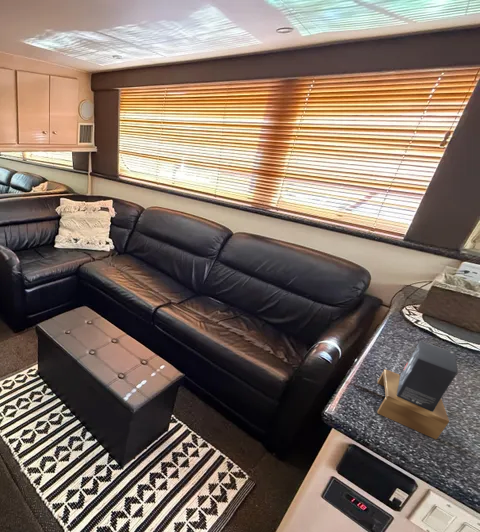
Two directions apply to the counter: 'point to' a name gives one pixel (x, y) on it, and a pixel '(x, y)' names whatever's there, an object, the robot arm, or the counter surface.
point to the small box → (427, 375)
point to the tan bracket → (410, 409)
